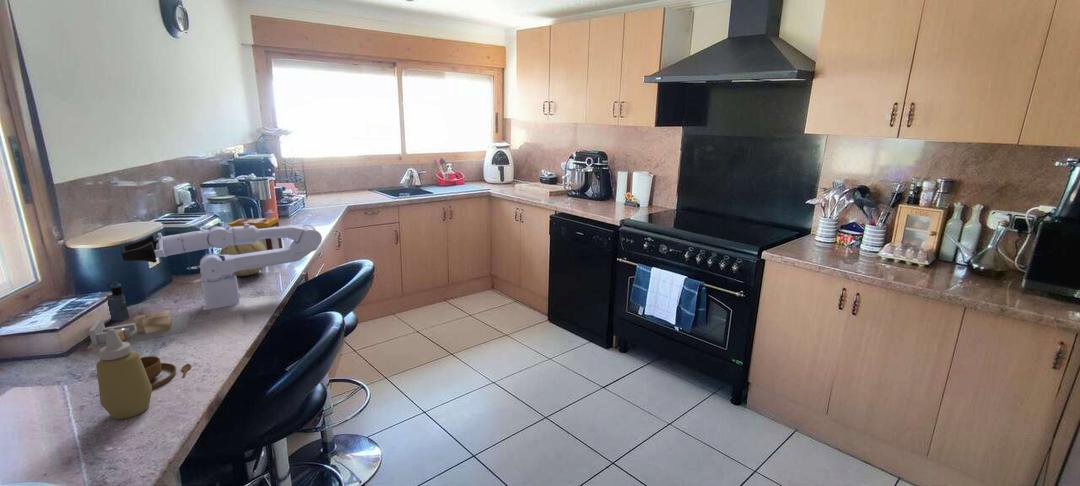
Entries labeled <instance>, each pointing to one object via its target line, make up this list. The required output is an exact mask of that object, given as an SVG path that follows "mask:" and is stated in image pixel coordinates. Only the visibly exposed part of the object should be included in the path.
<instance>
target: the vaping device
mask: <svg viewBox="0 0 1080 486" xmlns="http://www.w3.org/2000/svg"><path fill="white" fill-rule="evenodd" d="M109 287H110V291H111V292H110V293H106V295H105V296H106V297H105V300H106V299H107V300H108V306H109V311H110V315H111V319H110V320H111V321H118V322H123V321H125V320H128V319H130V315H129V312H128V311H129V310H128V306H127V302H126V297H125V296H124V291H123V287H122V284H121V283H119V282H118V281H112V284H111V285H110V286H109Z"/></svg>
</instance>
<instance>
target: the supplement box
mask: <svg viewBox="0 0 1080 486" xmlns="http://www.w3.org/2000/svg"><path fill="white" fill-rule="evenodd" d="M244 224H249V226H251V225H253V226H255V227H256V228H258V229H262V228H271V227H280V222H279V218H278V217H262V218H261V217H260V218H259V217H257V218H255V217H253V218H252V217H251V218H238V219H236V220H234V221H232V222H229V223H227V226H230V227H237V226H244ZM259 241H260V242H261V243H262V244H263V245H264V246H265V248H266V250H273V249H280V248H284V247H283V241H282V238H270V239H259Z"/></svg>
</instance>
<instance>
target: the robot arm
mask: <svg viewBox="0 0 1080 486" xmlns="http://www.w3.org/2000/svg"><path fill="white" fill-rule="evenodd" d="M157 236H158V237H157V238H155V237H154V234H149V235H148V236H146V237H145V238H142V239H140V240H138V241H134V242H131V243H128V244H126V245H124V252H122V253H121V256H122V260H123V261H127V262H129V261H130V262H132V261H138V262H139V261H142V262H143V261H144V262H149V263H157V258H168V257H169V256H173V255H179V254H185V253H191V252H195V251H196V252H198V251H201V250H205V249H212V248H216V249H223V248H226V247H227V246H229V245H242V244H253V243H256V242H257V241H258V240H259V239H270V238H281V239H286V238H287V239H290V240H292V242H291V244H290V245H289V246H288V247H287V246H286V247H283V248H280V249H273V250H266V251H259V252H252V253H246V254H239V255H220V254H218V253H217V254H216V253H207V254H205V255H203V256H202V258H200V261H199V267H200V271H199V273H200V275H201V277H200V278H199V279H200V284H201V289H202V294H203V300H204V304H203V307H202V310H203V311H206V310H211V309H218V308H223V307H224V308H225V307H231V306H238V305H239V304H240V299H241V292H240V291H239V284H238V283H239V282H238V278H237V275H234V274H233V273H235V272H236V271H240V270H247V269H253V268H259V267H263V268H264V267H270V266H276V265H283V264H288V263H294V262H299V261H302V259H304V258H305V257H307V256H308V255H309V254H311V253H312V252H314V251H315V252H316V251H317V250H318V249H319V247H320V245H321V244H322V241H323V239H322V238H323V237H322V234H321V232H319V231H317V230H316V228H315V227H314V226H313V225H311V224H304V225H303V224H289V225H282V226H280V225H279V227H271V228H262V229H258V228H256V227H255V226H253V225H251V226H249V224H244V226H237V227H230V226H228V225H226V226H225V227H223V226H217V225H214V226H212V227H210V228H209V229H203V230H194V231H190V232H189V231H188V232H184V233H183V232H182V233H177V234H176V233H175V234H170V235H166V236H165V235H164V236H163V235H162V233H161V232H158V233H157Z"/></svg>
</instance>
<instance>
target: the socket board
mask: <svg viewBox="0 0 1080 486" xmlns="http://www.w3.org/2000/svg"><path fill="white" fill-rule="evenodd" d="M190 318H191V316H190V315H188V316H182V317H175V318H171V319H172V323H173V324H172V326H171V329H168V330H162V331H156V332H150V333H144V334H139V333H138V332H137V328H136V324H135V322H133V323H127V324H126V323H125V324H120V325H115V326H107V327H106V326H105V321H104V318H98V319H97V320H96V321H95V322H94V324H93V325H91V328H90V329H89V330H88V333H89V336H90V337H89V338H90V340H91V342H90V344H89V345H88V347H87V348H86V350H91V349H95V348H103V347H105V346H106V335H107V330H109V329H115V330H116V329H118V328H125V333H126V340H122V341H123V342H128V343H131V342H135V341H141V340H146V339H148V340H149V339H152V338H158V337H163V336H169V335H174V334H175V335H176V334H182V333H185V332H186V330H187V327H188V324H189V321H190Z"/></svg>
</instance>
